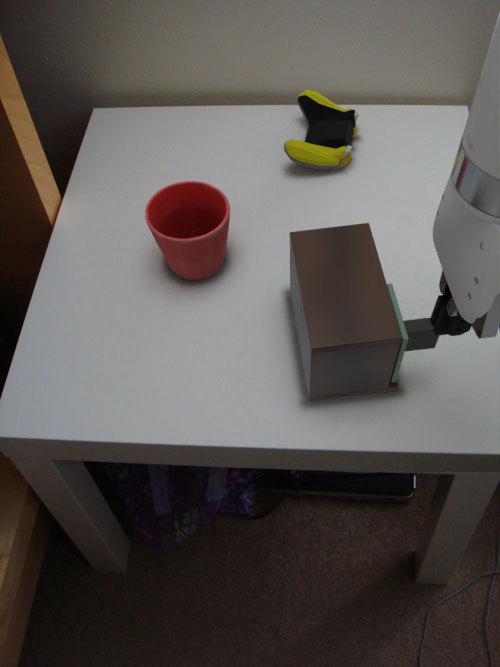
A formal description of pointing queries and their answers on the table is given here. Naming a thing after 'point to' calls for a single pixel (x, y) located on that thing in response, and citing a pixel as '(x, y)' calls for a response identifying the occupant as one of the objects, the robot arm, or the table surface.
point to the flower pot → (190, 227)
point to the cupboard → (342, 312)
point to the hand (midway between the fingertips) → (448, 326)
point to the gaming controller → (323, 133)
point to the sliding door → (411, 334)
